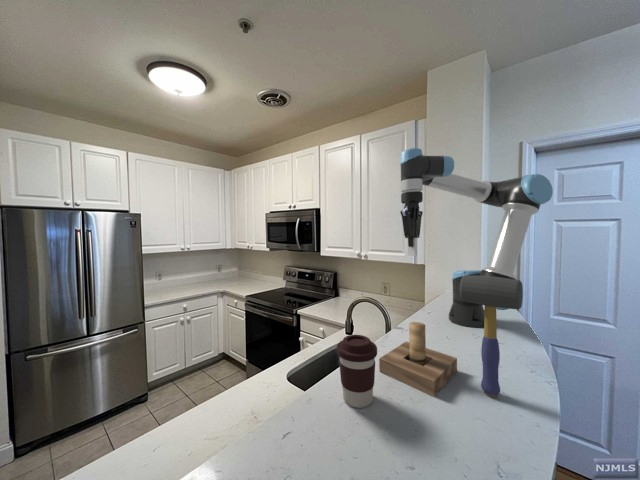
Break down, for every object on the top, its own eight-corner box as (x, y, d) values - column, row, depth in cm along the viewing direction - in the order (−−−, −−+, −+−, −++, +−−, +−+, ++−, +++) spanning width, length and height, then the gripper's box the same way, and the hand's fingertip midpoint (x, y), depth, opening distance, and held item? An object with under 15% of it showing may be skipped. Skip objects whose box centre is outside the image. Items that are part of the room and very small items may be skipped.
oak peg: (413, 365, 77) (413, 320, 77) (429, 371, 74) (428, 324, 73) (406, 371, 74) (405, 324, 73) (422, 377, 70) (421, 329, 70)
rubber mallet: (524, 398, 61) (524, 276, 60) (519, 414, 56) (519, 281, 55) (467, 377, 70) (466, 271, 69) (458, 390, 65) (457, 275, 64)
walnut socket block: (406, 352, 85) (406, 341, 85) (457, 371, 73) (457, 358, 73) (379, 371, 74) (379, 358, 74) (434, 396, 62) (433, 381, 62)
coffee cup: (364, 382, 69) (363, 329, 68) (386, 406, 60) (385, 344, 59) (331, 392, 65) (330, 335, 65) (349, 418, 56) (348, 352, 56)
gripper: (410, 194, 100) (411, 253, 101) (393, 192, 91) (394, 256, 92) (429, 192, 94) (430, 254, 95) (412, 189, 85) (413, 257, 86)
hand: (412, 255), depth 93 cm, fingers closed
